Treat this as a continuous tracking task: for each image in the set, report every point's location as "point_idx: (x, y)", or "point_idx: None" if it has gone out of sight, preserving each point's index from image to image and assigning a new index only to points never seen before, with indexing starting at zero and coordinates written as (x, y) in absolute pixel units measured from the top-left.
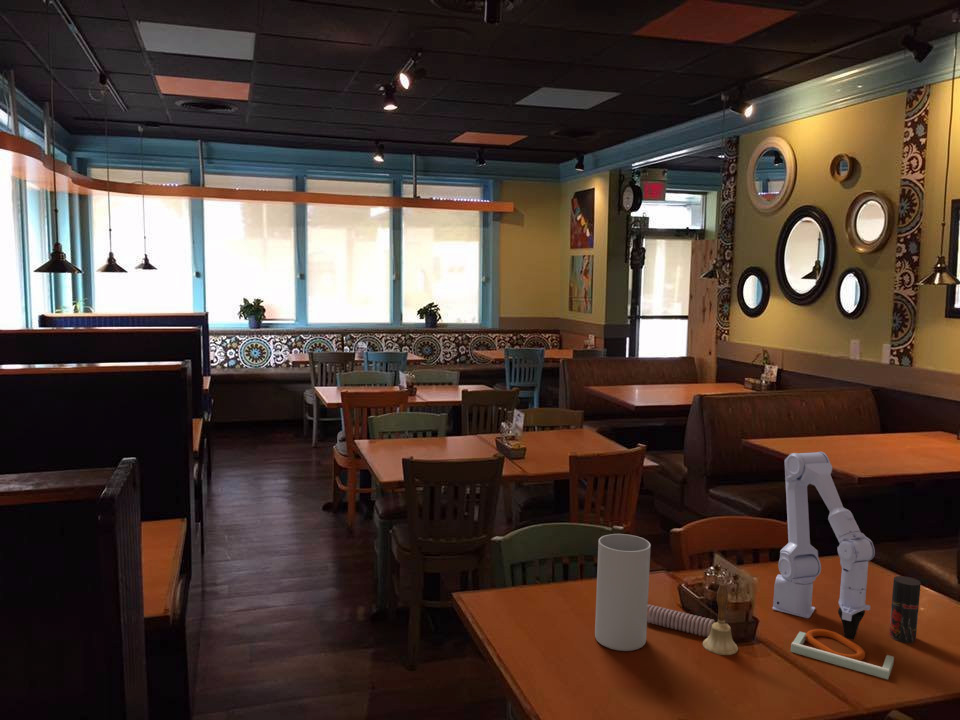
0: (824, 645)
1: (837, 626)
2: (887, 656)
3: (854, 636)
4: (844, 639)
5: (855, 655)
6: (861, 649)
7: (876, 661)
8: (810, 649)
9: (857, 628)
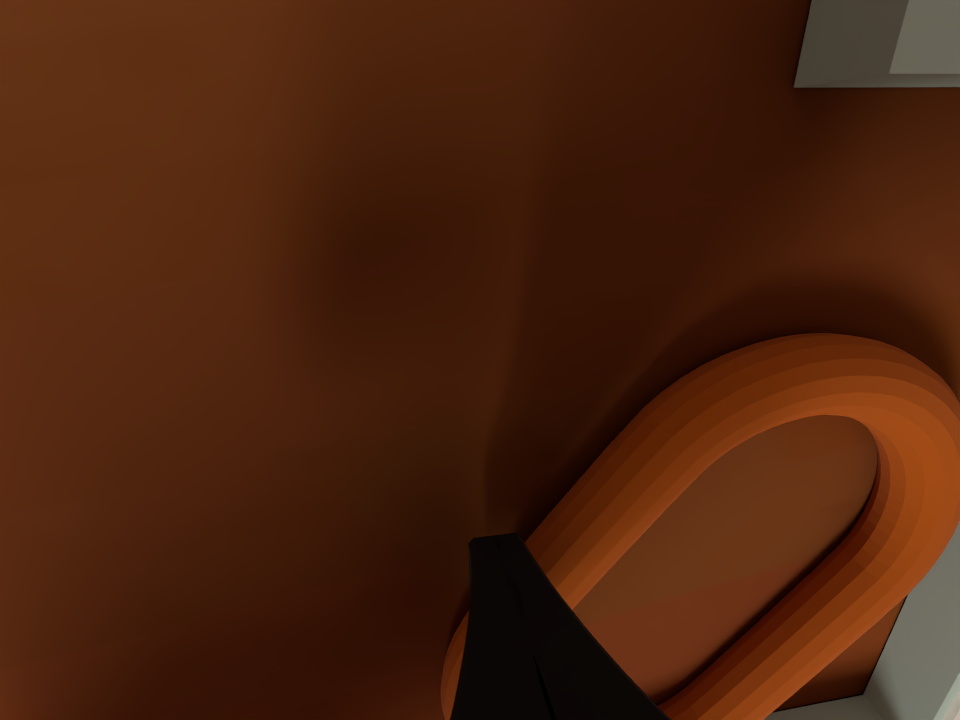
0: (832, 652)
1: (160, 707)
2: (944, 53)
3: (534, 562)
4: (584, 593)
5: (952, 414)
6: (776, 405)
7: (814, 202)
8: None
9: (498, 648)
